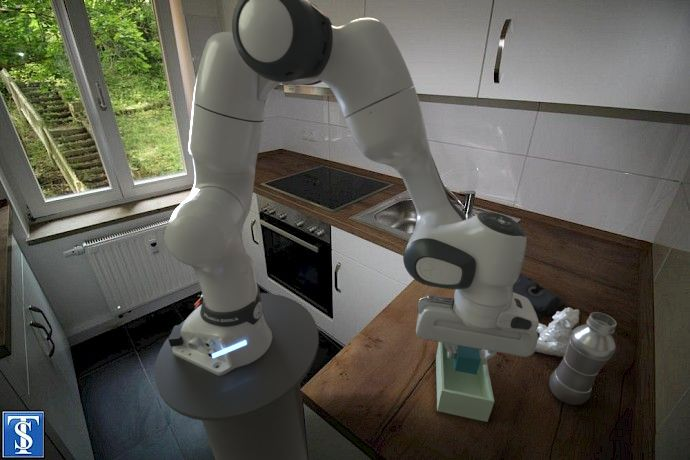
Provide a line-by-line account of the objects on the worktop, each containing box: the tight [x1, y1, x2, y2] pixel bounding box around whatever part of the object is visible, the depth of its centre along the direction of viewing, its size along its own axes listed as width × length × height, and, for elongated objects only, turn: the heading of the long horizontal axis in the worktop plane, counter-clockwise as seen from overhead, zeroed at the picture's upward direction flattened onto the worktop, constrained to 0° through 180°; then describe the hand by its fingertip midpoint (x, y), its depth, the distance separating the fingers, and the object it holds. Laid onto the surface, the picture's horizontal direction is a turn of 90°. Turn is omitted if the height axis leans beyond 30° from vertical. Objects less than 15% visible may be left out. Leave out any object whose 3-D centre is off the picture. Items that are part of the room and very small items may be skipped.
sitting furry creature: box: [534, 306, 580, 358], centre depth 71 cm, size 10×9×12 cm
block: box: [454, 345, 481, 375], centre depth 61 cm, size 4×4×4 cm
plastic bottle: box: [548, 311, 617, 406], centre depth 58 cm, size 6×7×20 cm
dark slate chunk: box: [513, 273, 565, 320], centre depth 91 cm, size 15×22×5 cm
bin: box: [435, 342, 496, 423], centre depth 63 cm, size 6×13×9 cm
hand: (465, 358), depth 61 cm, fingers closed on block, 4 cm apart
